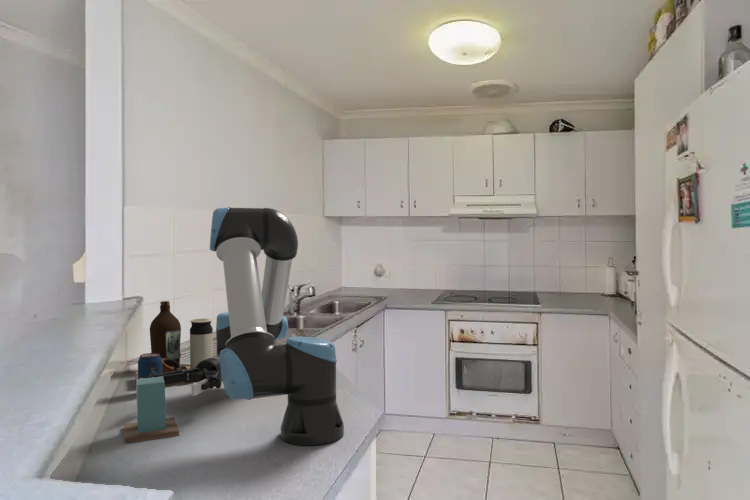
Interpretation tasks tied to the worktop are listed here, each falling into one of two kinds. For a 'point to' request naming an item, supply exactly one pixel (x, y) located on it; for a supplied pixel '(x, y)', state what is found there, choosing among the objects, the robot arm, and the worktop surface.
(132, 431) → the brown square base plate
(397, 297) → the worktop surface
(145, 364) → the soda can
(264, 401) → the worktop surface
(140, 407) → the tall teal pillar
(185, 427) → the worktop surface
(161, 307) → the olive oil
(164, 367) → the pottery mug
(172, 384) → the mug frame
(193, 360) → the travel mug
